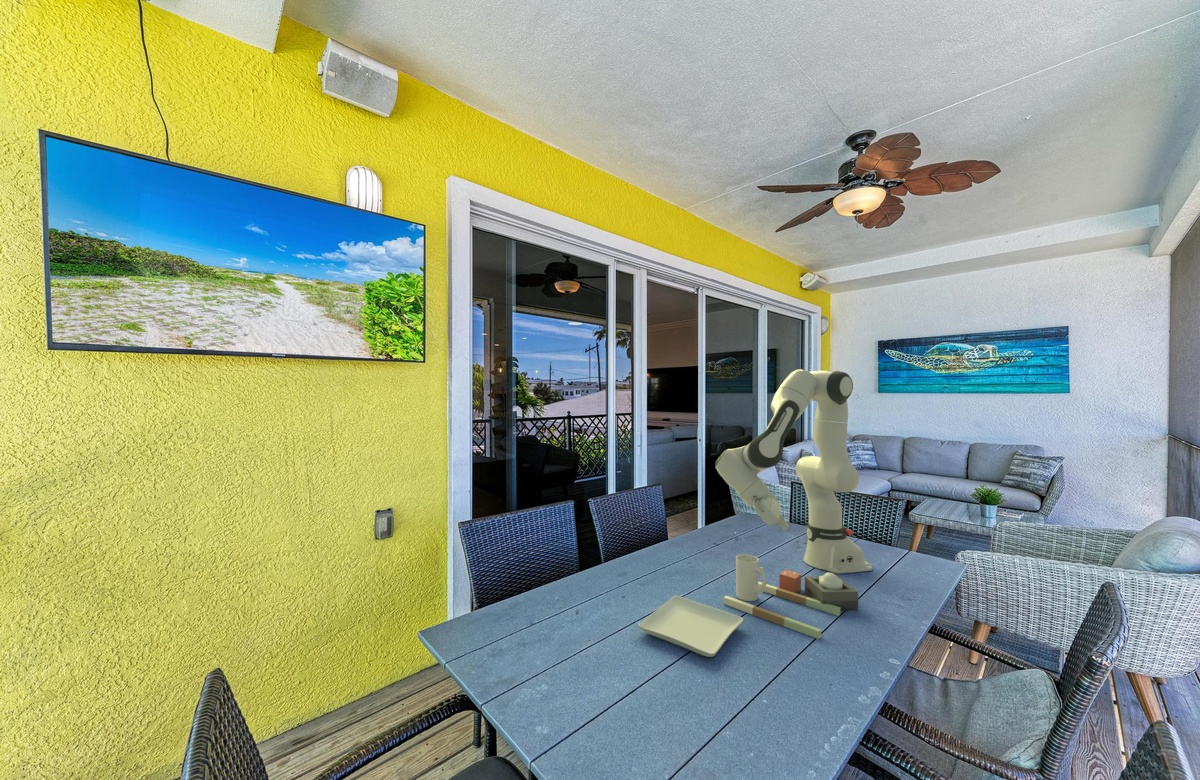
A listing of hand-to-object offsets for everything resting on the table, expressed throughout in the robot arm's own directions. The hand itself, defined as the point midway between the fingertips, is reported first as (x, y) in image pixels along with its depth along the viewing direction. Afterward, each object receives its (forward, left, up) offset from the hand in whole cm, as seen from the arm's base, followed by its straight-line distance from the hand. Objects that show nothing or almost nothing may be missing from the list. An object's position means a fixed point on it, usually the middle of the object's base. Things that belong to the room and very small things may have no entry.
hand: (787, 528), depth 141 cm
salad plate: (+35, +21, -21) cm, 46 cm away
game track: (+6, +9, -21) cm, 24 cm away
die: (-3, -3, -21) cm, 21 cm away
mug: (+12, +3, -21) cm, 25 cm away
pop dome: (-11, +5, -16) cm, 21 cm away
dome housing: (-11, +5, -21) cm, 24 cm away
